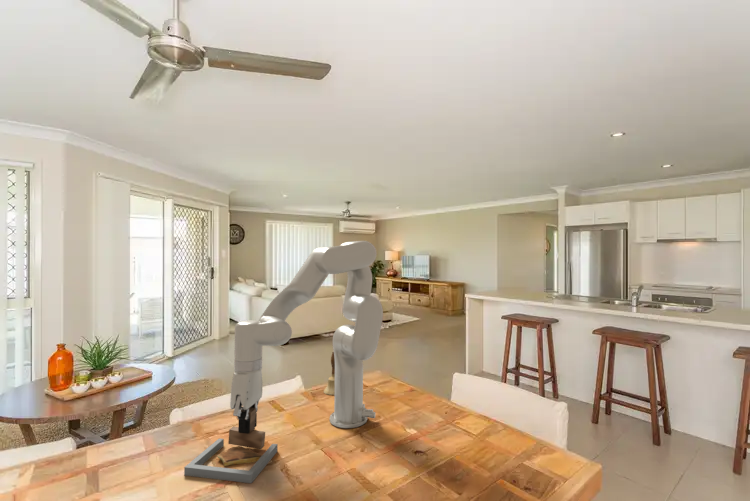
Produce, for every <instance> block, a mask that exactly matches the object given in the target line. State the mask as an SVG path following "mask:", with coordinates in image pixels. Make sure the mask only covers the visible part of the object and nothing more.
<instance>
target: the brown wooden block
mask: <svg viewBox="0 0 750 501" xmlns="http://www.w3.org/2000/svg"><path fill="white" fill-rule="evenodd" d="M242 412H244V413H245V411H244V410H242ZM256 413H257V412H256V408H252V407H250V408H249V418H250V433H248V434H246V433H239V432H238V427H239V426H232V427H230V429H229V430H228V442H227V443H228V445H231V446H232V445H234V446H240V447H244V448H248V449H255V450H262V449H263V448H264V447H265V442H266V441H265V440H266V431H262V430H256V427H255V420H256Z"/></svg>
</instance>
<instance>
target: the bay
mask: <svg viewBox="0 0 750 501" xmlns="http://www.w3.org/2000/svg"><path fill="white" fill-rule="evenodd" d="M224 441H225V440H224V438H218V439H216V440H215V441H214V442H213V443H212V444H210V445H209V446H208V447H207V448H206V449H205V450H203V451H202V452H201V453H200V454H198V455H197V456H196V457H195V458H194V459H192V460H191V461H190V462H189V463H188V464H186V465H185V466H184V467H183V468H184V472H183V473H184V474H183V475H184V476H188V477H196V478H204V479H212V480H220V481H230V482H237V483H245V484H252V483H253V482H254V481H255V479H257V477H258V476H259V474H261V472H262V471H263V470H264V468H266V466H267V465H268V464H269V462H271V460H272V459H273V458H274V456H276V455H277V453H278V447H279V446H278V443H272V444H271V445H270V446H269V447H268V448H267V450H265V451H264V453H263V454H261V455H262V456H261V457H260V459H259V460H258V461H257V462H254V463H253V465H252V466H251V468H250V469H249V470H247V469H246V470H244V469H238V468H229V467H221V466H220V467H219V466H210V465H204V464H205V463H206V462H207V461H209V459H210V458H212V457H213V456H214V455H215V454H216V453H217V452H218V451H220V450H221V449H222V448H223V447H224V443H225V442H224Z"/></svg>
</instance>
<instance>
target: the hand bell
mask: <svg viewBox="0 0 750 501" xmlns="http://www.w3.org/2000/svg"><path fill="white" fill-rule="evenodd" d="M330 365H331V376H329V377H328V379H327V384H326V387H325V388H324V389H323V394H325V395H327V396H335V358H334V351H332V354H331V356H330Z"/></svg>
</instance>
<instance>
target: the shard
mask: <svg viewBox="0 0 750 501" xmlns="http://www.w3.org/2000/svg"><path fill="white" fill-rule="evenodd" d="M262 455H263V454H261V453H257V452H255V450H252V449H250V448H248V447H244V446H238V445H235V446H232V447H230V448H228V449H226V450H225V451H222V452H219V454H217V455H216V456H217V458H218V459H219V460H221V461H222V464H223V466H224V467H229V466H231V465H240V464H248V463H249V464H250V463H256V462H257V461H258V460H259V459H260V457H261V456H262Z"/></svg>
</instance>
